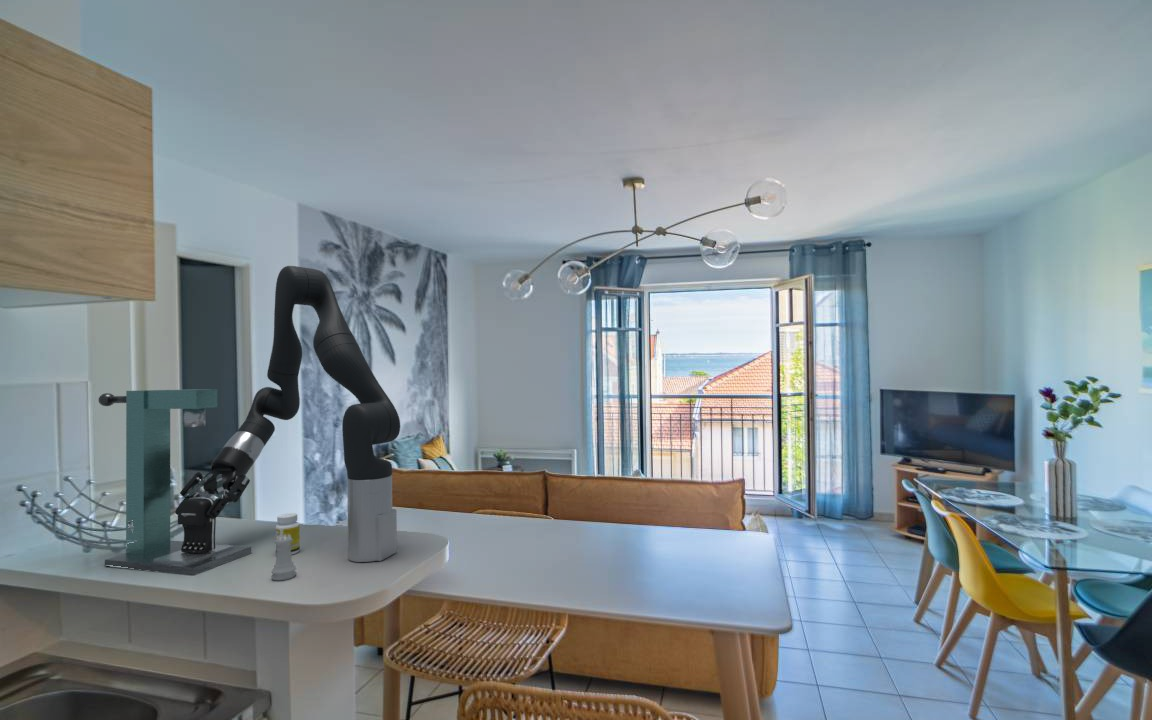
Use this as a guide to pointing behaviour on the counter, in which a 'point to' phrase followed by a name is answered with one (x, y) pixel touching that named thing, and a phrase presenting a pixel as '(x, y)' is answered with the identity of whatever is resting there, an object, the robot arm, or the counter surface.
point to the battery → (197, 525)
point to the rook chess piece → (283, 560)
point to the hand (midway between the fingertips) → (194, 516)
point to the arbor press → (160, 481)
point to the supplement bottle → (289, 530)
